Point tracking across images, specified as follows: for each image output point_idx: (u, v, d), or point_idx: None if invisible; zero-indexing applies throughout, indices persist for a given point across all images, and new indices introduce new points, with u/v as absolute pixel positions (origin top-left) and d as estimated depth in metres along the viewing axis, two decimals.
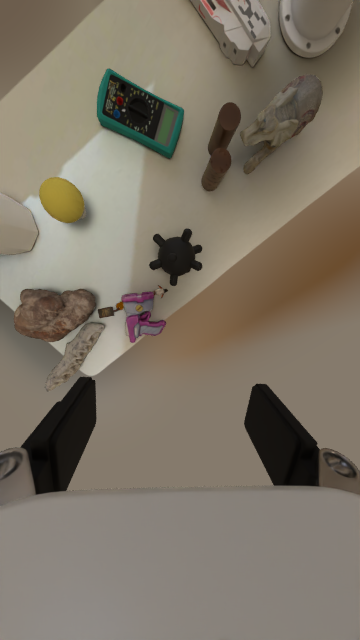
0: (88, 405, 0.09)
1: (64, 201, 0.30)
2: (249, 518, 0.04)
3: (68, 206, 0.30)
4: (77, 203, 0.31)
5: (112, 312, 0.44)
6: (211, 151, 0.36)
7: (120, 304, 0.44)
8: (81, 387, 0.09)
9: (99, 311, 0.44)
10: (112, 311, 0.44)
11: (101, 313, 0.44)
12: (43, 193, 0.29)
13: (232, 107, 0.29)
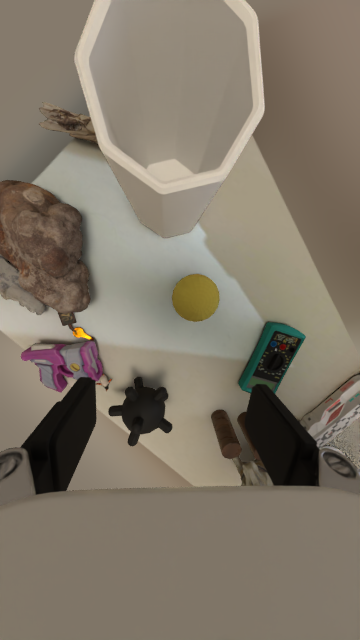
0: (88, 405, 0.09)
1: (192, 313, 0.24)
2: (249, 518, 0.04)
3: (187, 314, 0.24)
4: (192, 320, 0.25)
5: (67, 323, 0.32)
6: (242, 418, 0.39)
7: (81, 333, 0.33)
8: (81, 387, 0.09)
9: None
10: (68, 323, 0.32)
11: None
12: (200, 290, 0.23)
13: None
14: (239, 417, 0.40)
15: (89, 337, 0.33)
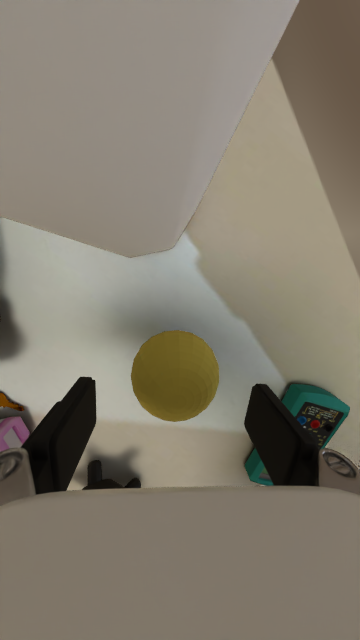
0: (88, 405, 0.09)
1: (165, 417, 0.12)
2: (249, 518, 0.04)
3: (156, 416, 0.12)
4: None
5: None
6: None
7: (1, 401, 0.21)
8: (81, 387, 0.09)
9: None
10: None
11: None
12: (181, 379, 0.11)
13: None
14: None
15: (15, 406, 0.21)
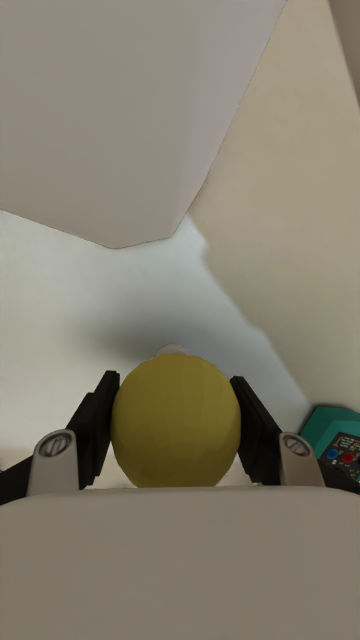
0: None
1: None
2: (249, 518, 0.04)
3: None
4: None
5: None
6: None
7: None
8: (109, 379, 0.10)
9: None
10: None
11: None
12: (186, 446, 0.07)
13: None
14: None
15: None
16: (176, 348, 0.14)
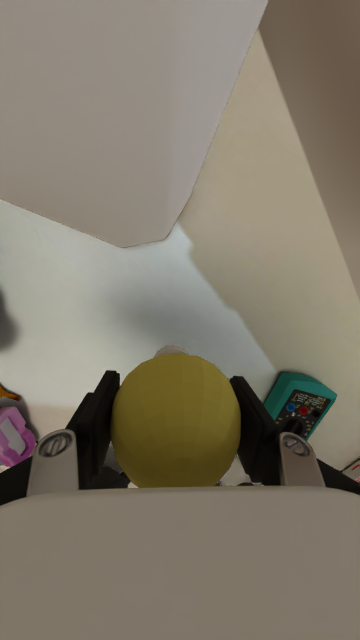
0: None
1: None
2: (249, 518, 0.04)
3: None
4: None
5: None
6: None
7: None
8: (109, 379, 0.10)
9: None
10: None
11: None
12: (186, 445, 0.07)
13: None
14: None
15: (12, 396, 0.21)
16: (176, 348, 0.14)
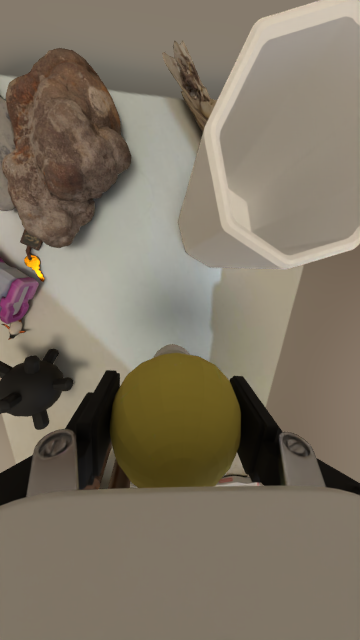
0: None
1: None
2: (249, 518, 0.04)
3: None
4: None
5: (27, 243, 0.25)
6: None
7: (34, 264, 0.26)
8: (109, 379, 0.10)
9: None
10: (29, 245, 0.25)
11: None
12: (186, 445, 0.07)
13: None
14: None
15: (40, 275, 0.26)
16: (176, 348, 0.14)
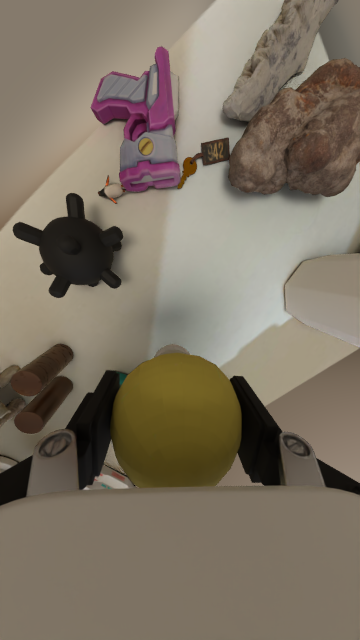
0: None
1: None
2: (249, 518, 0.04)
3: None
4: None
5: (204, 151, 0.23)
6: (64, 382, 0.30)
7: (188, 170, 0.24)
8: (109, 379, 0.10)
9: (227, 154, 0.24)
10: (203, 153, 0.23)
11: (223, 148, 0.23)
12: (187, 445, 0.07)
13: (28, 430, 0.24)
14: (64, 378, 0.31)
15: (182, 182, 0.24)
16: (176, 348, 0.14)
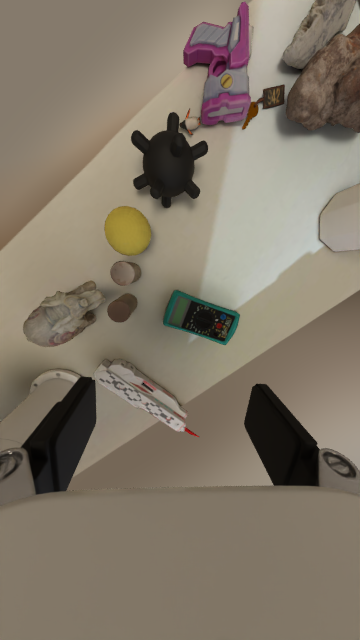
0: (88, 405, 0.09)
1: (119, 240, 0.25)
2: (249, 518, 0.04)
3: (116, 243, 0.26)
4: (123, 251, 0.27)
5: (265, 96, 0.29)
6: (133, 297, 0.36)
7: (252, 113, 0.30)
8: (81, 387, 0.09)
9: (282, 99, 0.30)
10: (264, 98, 0.29)
11: (280, 94, 0.30)
12: (124, 216, 0.24)
13: (117, 318, 0.30)
14: (131, 295, 0.36)
15: (246, 123, 0.30)
16: None
